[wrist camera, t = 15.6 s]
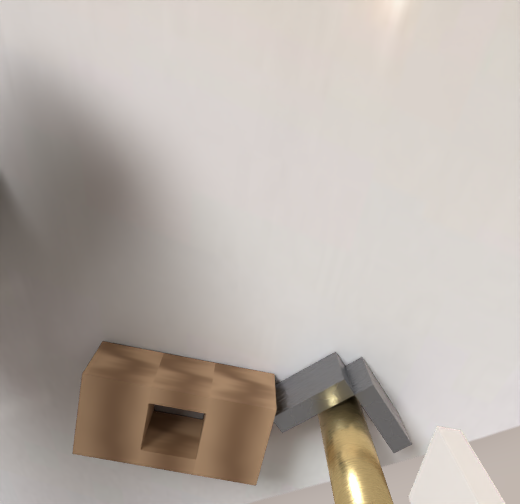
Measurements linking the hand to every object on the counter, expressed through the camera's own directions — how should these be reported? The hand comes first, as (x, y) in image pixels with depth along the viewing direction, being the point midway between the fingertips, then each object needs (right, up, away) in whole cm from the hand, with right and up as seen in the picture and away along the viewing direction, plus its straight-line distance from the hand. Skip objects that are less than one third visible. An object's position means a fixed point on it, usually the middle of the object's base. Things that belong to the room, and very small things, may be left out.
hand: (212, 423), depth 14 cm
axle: (+9, -10, +37) cm, 39 cm away
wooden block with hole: (-7, -10, +37) cm, 39 cm away
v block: (+10, -9, +36) cm, 39 cm away
